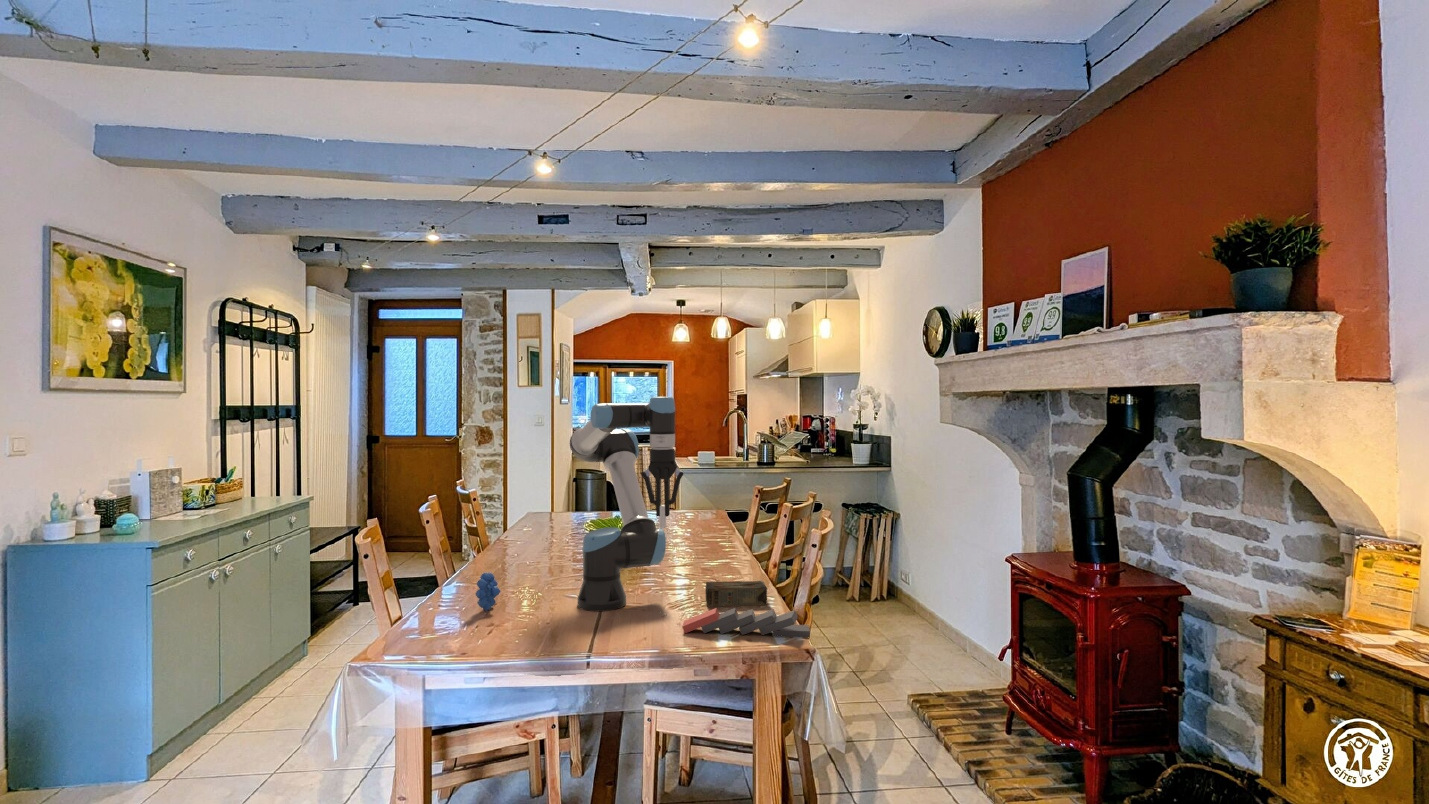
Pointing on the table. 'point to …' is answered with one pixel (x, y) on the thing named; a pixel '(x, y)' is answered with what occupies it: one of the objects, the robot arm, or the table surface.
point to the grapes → (487, 591)
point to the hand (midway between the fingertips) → (663, 527)
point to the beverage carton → (736, 593)
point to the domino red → (700, 620)
